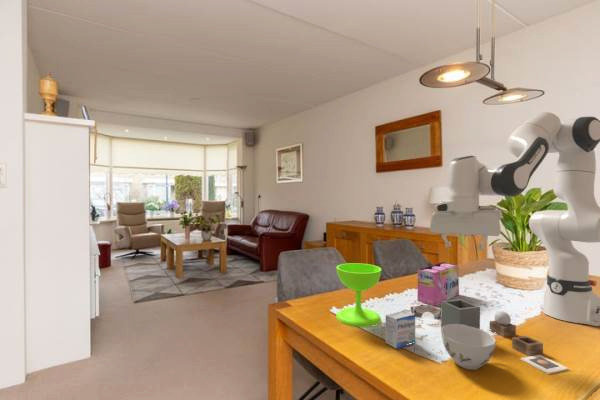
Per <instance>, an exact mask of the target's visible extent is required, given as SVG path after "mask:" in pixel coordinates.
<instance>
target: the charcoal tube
mask: <svg viewBox="0 0 600 400" xmlns="http://www.w3.org/2000/svg"><path fill="white" fill-rule="evenodd" d="M440 307H441V311H440V312H441V313H440V314H441V315H440V316H441V317H440V319H441V320H440V327H441V328H440V331H441V330H442V327H444V326H445V325H449V324H459V325H460V324H461V325H467V326H470V327H474V328H477V329H481V307H480V306H478V305H476V304H473V303H471V302H468V301H466V300H464V299H461V298H460V299H459V298H458V299H448V300H446V301H441V303H440Z"/></svg>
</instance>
